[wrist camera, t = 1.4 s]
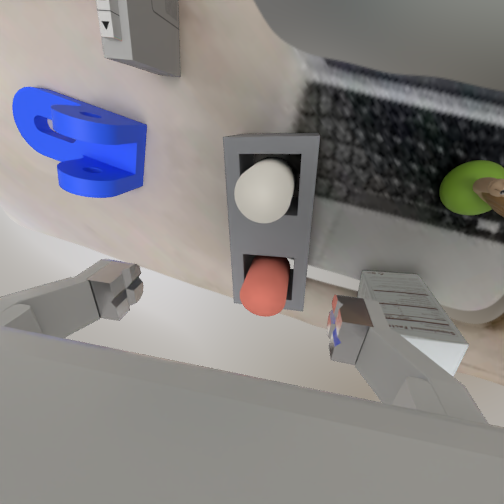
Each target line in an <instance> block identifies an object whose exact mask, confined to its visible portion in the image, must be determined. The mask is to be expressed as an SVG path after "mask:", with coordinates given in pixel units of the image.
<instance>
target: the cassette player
mask: <svg viewBox="0 0 504 504" xmlns="http://www.w3.org/2000/svg"><path fill="white" fill-rule="evenodd" d="M96 4H97V11H98V18H99V25H100V31H101V38H102V45H103V51H104V58H107V59H111V60H114V61H117V62H120V63H123V64H127V65H130V66H133V67H136V68H139V69H142V70H146V71H149V72H152V73H155V74H158V75H166V76H177V77H181V72H180V40H179V8H178V0H96Z"/></svg>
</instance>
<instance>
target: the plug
mask: <svg viewBox="0 0 504 504" xmlns="http://www.w3.org/2000/svg"><path fill="white" fill-rule="evenodd" d="M295 182H296V178H295V173H294V170H293V168H292V166H291V165H290V164H289V163H288V162H287V161H286V160H284V159H282V158H280V157H274V156H271V157H266V158H263V159H262V160H260V161H259V162H257V163H256V164H255V165H253V166H252V167H251V168H249V169H248V170H246V171H245V172H244V173H243V174H242V175H241V176H240V177H239V179H238V181H237V183H236V186H235V191H234V196H235V202H236V205H237V207H238V209H239V210H240V212H241V213H242V214H243V215H244V216H245V217H246V218H248V219H250V220H251V221H254V222H257V223H271V222H274V221H276V220H278V219H280V218H281V217H282V216H283V215H284V214H285V213H286V212H287V210H288V208H289V206H290V203H291V199H292V195H293V191H294V187H295Z"/></svg>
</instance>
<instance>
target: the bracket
mask: <svg viewBox="0 0 504 504" xmlns="http://www.w3.org/2000/svg"><path fill="white" fill-rule="evenodd" d="M13 116H14V120H15V123H16V125H17V128H18V130H19V131H20V133H21V135H22V136H23V138H24V139H25V140H26V142H27V143H28V144H29V145H30V146H31V147H32V148H33V149H35V150H36V151H37V152H39V153H40V154H42V155H45V156H47V157H50V158H53V159H55V160H58V161H61V163H59V164H58V165H57V170H58V180H59V185H60V187H61V188H62V189H64V190H66V191H68V192H70V193H73V194H76V195H80V196H85V197H95V198H106V197H114V196H117V195H120V194H123V193H125V192H128V191H131V190H133V189H136V188H139V187H141V186H143V174H144V160H145V146H146V132H147V125H146V124H143V123H140V122H137V121H135V120H132V119H129V118H126V117H124V116H121V115H118V114H115V113H112V112H110V111H107V110H104V109H101V108H99V107H96V106H93V105H90V104H88V103H85V102H82V101H79V100H76V99H74V98H71V97H68V96H65V95H63V94H60V93H57V92H54V91H51V90H48V89H42V88H34V87H24V88H22V89H20V90H19V91H18V92H17V93H16V94H15V96H14V99H13ZM47 118H48V119H51V120H52V122H53V129H54V130H55V131H56V132H58V133H56V132H54V131H52V130H51V129H50V127H49V126H48V123H47ZM59 133H60V134H59ZM75 139H76V140H75Z"/></svg>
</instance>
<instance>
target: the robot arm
mask: <svg viewBox="0 0 504 504" xmlns="http://www.w3.org/2000/svg"><path fill="white" fill-rule="evenodd" d="M140 274H141V271H140V267H139V266H138V265H137V264H133V263H127V262H121V261H115V260H109V259H101V260H100V261H98V262H97V263H95V264H94V265H92V266H91V267H89V268H88V269H86V270H85V271H83V272H82V273H80V274H78V275H77V276H75V277H74V278H71V277H70V278H66V279H63V280H59V281H55V282H51V283H48V284H44V285H41V286H37V287H34V288H30V289H27V290H23V291H20V292H16V293H12V294H9V295H5V296H2V297H0V504H504V427H500V426H495V425H490V424H488V422H487V420H486V419H485V417H484V416H483V414H482V413H481V411H480V409H479V408H478V406H477V404H476V403H475V401H474V400H473V398H472V397H471V395H470V394H469V392H468V390H467V388H466V387H465V386H464V385H463V384H462V383H461V382H459V381H458V380H457V379H456V378H454V377H453V376H452V375H450V374H449V373H448V372H447V371H445V370H444V369H443V368H442V367H440V366H439V365H438V364H437V363H435V362H434V361H433V360H431V359H430V358H429V357H428V356H426V355H425V354H424V353H423V352H421V351H420V350H419V349H418V348H416V347H415V346H414V345H412V344H411V343H410V342H409V341H407V340H406V339H405V338H404V337H402V336H401V335H400V334H398V333H397V332H396V331H392V330H391V329H390V327H389V325H388V322H387V320H386V318H385V316H384V313H383V311H382V309H381V307H380V304H379V302H378V301H377V300H374V299H366V298H356V297H349V296H342V295H334V298H333V301H332V307H333V310H332V311H330V312H329V317H328V323H327V334H328V337H329V338H330V343H329V350H330V357H331V360H333V361H337V362H342V363H347V364H352V365H355V367H356V368H357V370H358V371H359V372H360V374H361V375H362V376H363V378H364V379H365V380H366V382H367V383H368V384H369V386H370V387H371V388H372V390H373V391H374V392H375V393H376V395H377V396H378V398H379V399H380V400H381V402H382V403H381V402H376V401H371V400H366V399H362V398H357V397H352V396H347V395H342V394H336V393H332V392H327V391H321V390H316V389H312V388H307V387H301V386H297V385H291V384H287V383H281V382H277V381H272V380H267V379H262V378H257V377H253V376H248V375H243V374H238V373H233V372H228V371H223V370H218V369H213V368H209V367H204V366H199V365H193V364H188V363H183V362H179V361H174V360H169V359H164V358H159V357H154V356H149V355H144V354H139V353H134V352H129V351H124V350H119V349H113V348H109V347H104V346H99V345H94V344H90V343H85V342H80V341H75V340H70V339H65V337H67V336H69V335H70V334H72V333H74V332H76V331H78V330H80V329H81V328H84V327H85V326H87V325H89V324H91V323H93V322H95V321H96V320H98V319H100V318H105V319H111V320H118V321H120V320H121V319H122V318H123V316H124V315H125V314H126V313H127V312H128V311H129V310H130V305H133V304H135V303H137V301H138V300H139V299H140V298H141V296H142V293H143V282H142V281H141V280H140V278H139V275H140Z"/></svg>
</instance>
